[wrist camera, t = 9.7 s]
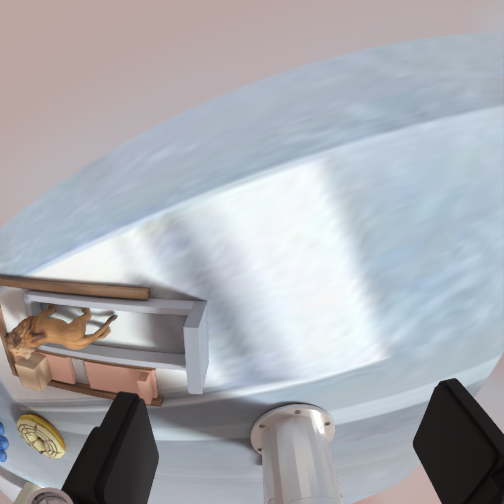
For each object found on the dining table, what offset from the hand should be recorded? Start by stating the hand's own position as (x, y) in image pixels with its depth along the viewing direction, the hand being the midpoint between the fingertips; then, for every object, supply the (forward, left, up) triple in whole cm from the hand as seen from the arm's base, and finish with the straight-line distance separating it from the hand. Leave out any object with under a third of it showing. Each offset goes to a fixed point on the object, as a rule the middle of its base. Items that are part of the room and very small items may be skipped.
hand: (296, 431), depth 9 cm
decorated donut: (-38, +40, -28) cm, 62 cm away
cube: (-20, +33, -27) cm, 47 cm away
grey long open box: (-11, +19, -28) cm, 35 cm away
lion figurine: (-11, +25, -28) cm, 39 cm away
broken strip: (-20, +27, -28) cm, 43 cm away
